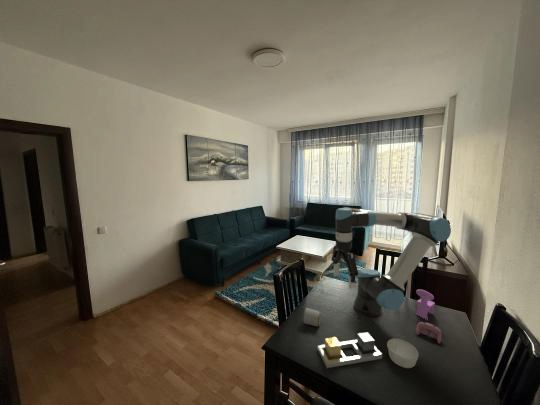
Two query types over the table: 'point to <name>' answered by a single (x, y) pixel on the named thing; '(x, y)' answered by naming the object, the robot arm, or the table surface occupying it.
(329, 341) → the yellow rectangular block
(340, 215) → the robot arm
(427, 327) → the video game controller
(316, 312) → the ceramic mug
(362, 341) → the grey rectangular block
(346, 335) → the table surface
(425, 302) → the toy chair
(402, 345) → the ramekin
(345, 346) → the white flat slotted board
